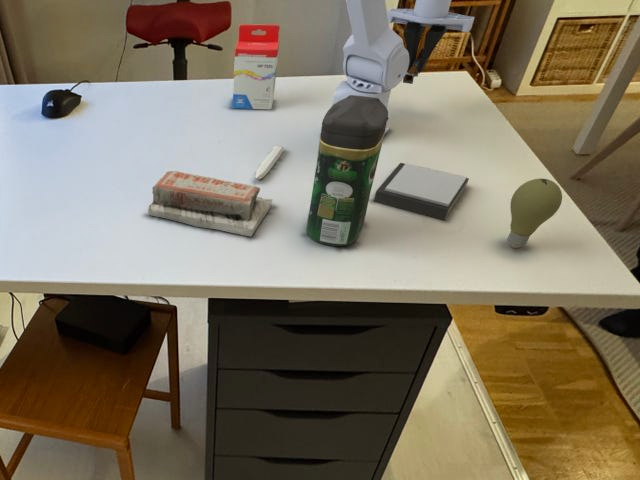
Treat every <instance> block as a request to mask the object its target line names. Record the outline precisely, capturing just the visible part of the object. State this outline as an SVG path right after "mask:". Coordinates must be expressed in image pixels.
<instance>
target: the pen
mask: <svg viewBox="0 0 640 480" xmlns="http://www.w3.org/2000/svg"><path fill="white" fill-rule="evenodd" d="M284 150H285V147H284V145H282V144H277V145H275V146H274V147H273V148H272V149H271V150H270V152H269V153H268V155H267V156H266V157H265V158H264V160H263V161H262V162H261V164H260V165H259V166H258V168H257V169H256V171H255V175H254V176H255V177H254V178H255V179H256V180H260V179H264V177H265V176H266V175H267V174H268V173H269V172H270V171H271V170H272V168H273V167H274V165H275V164H276V163H277V161H278V160H279V159H280V157H281V156H282V154H283V152H284Z"/></svg>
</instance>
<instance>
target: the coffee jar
mask: <svg viewBox="0 0 640 480" xmlns="http://www.w3.org/2000/svg"><path fill="white" fill-rule="evenodd" d="M389 119H390V117H389V110H388V107H387V108H386V107H385V105H384V104H383V103H382V102H381V101H380V100H379V99H378V98H373V97H365V96H356V95H349V96H348V97H347V98H345V99H342V100H340V101H338V102H337V103H335V104H334V105H333V106H332V105H331V106H330V107H329V109H328V110H327V112H326V113H325V114H324V117H323V119H322V123H321V129H320V134H319V140H318V151H317V158H316V166H315V172H314V177H313V186H312V191H311V198H310V205H309V210H308V215H307V216H308V217H307V222H306V227H305V228H306V229H305V232H306V235H307V236H308V237H309V238H310V239H311V240H314V241H316V242H317V243H318V244H319V243H320V244H323V245H326V246H332V247H333V246H334V247H337V246H338V247H339V246H349V245H352V243H354V242H355V241H357V238H358V237H359V235H361V232H362V230H363V228H364V224H365V219H366V215H367V211H368V206H369V201H370V196H371V192H372V188H373V184H374V180H375V176H376V171H377V167H378V163H379V158H380V154H381V151H382V145H383V141H384V136H385V134H386V133H385V129H386V127H387V125H388V121H389ZM384 133H385V134H384Z"/></svg>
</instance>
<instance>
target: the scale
mask: <svg viewBox="0 0 640 480" xmlns="http://www.w3.org/2000/svg"><path fill="white" fill-rule="evenodd" d="M469 179H470V178H469V177H468V176H465V175H461V174H457V173H452V172H448V171H443V170H439V169H436V168H435V169H434V168H430V167H427V166H422V165H417V164H412V163H409V162H406V163H404V162H400V163H399V164H398V165H397V166H396V167H395V168H394V170H393V171H392V172H391V173H390V174H389V176H388V177H387V178H386V179H385V180H384V181H383V183H382V184H380V186H379V187H378V189H377V190H375V194H374V198H373V202H376V203H380V204H383V205H387V206H390V207H395V208H397V209H402V210H406V211H409V212H414V213H416V214H421V215H424V216H428V217H432V218H436V219H440V220H444V221H445V220H446V219H447V217H448V216H449V214H450V213H451V211H452V210H453V208H454V207H455V205H456V203H458V201H459V199H460V198H461V196H462V194H463V193H464V191H465V190H466V187H467V185H468V183H469Z"/></svg>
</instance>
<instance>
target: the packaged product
mask: <svg viewBox="0 0 640 480" xmlns="http://www.w3.org/2000/svg"><path fill="white" fill-rule="evenodd" d="M260 191H261V188H260V187H259V186H255V185H251V184H246V183H240V182H235V181H228V180H224V179H223V180H222V179H217V178H213V177H209V176H203V175H199V174H193V173H187V172H182V171H179V170H178V171H177V170H170V171H169V170H168V171H166V172H165V174H164V175H163V176H162V177H161V178H159V180H157V182H155V184H154V185H153V186H152V194H153V196H152V202H151V203H150V204H149V205H148V208H147V214H148V216H152V217H158V218H162V219H167V220H171V221H173V222H174V221H175V222H179V223H183V224H186V225H189V226H193V227H197V228H204V229H211V230H212V229H213V230H217V231H221V232H222V231H223V232H227V233H232V234H236V235H241V236H245V237H250V238H251V237H252V236H253V234H254V233H255V232H256V230H257V229H258V228H259V226H260V224H261V223H262V221H263V220H264V218H265V217H266V215H267V214H268V213H269V210H270V209H271V207H272V204H273V199H271V198H263V197H261V196H258V195H259V194H260Z"/></svg>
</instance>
